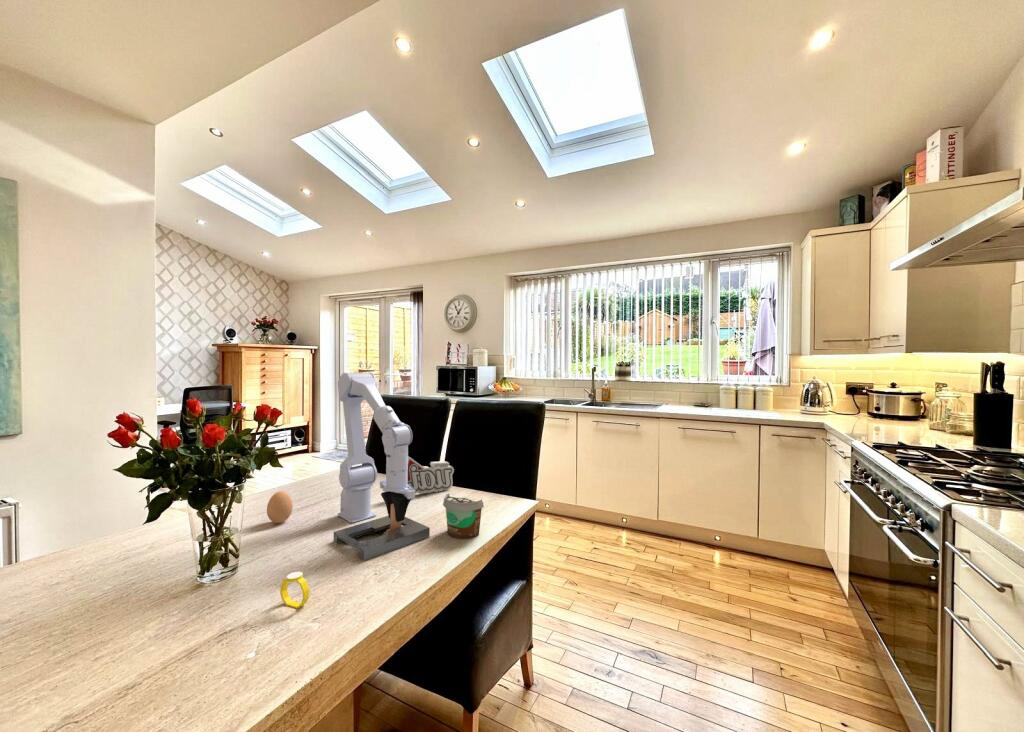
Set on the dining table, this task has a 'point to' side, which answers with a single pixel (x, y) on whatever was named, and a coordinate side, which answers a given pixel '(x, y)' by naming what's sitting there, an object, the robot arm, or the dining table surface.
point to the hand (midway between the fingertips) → (396, 519)
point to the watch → (303, 584)
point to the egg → (279, 507)
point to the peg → (393, 520)
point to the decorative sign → (429, 476)
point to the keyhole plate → (384, 543)
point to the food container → (462, 517)
